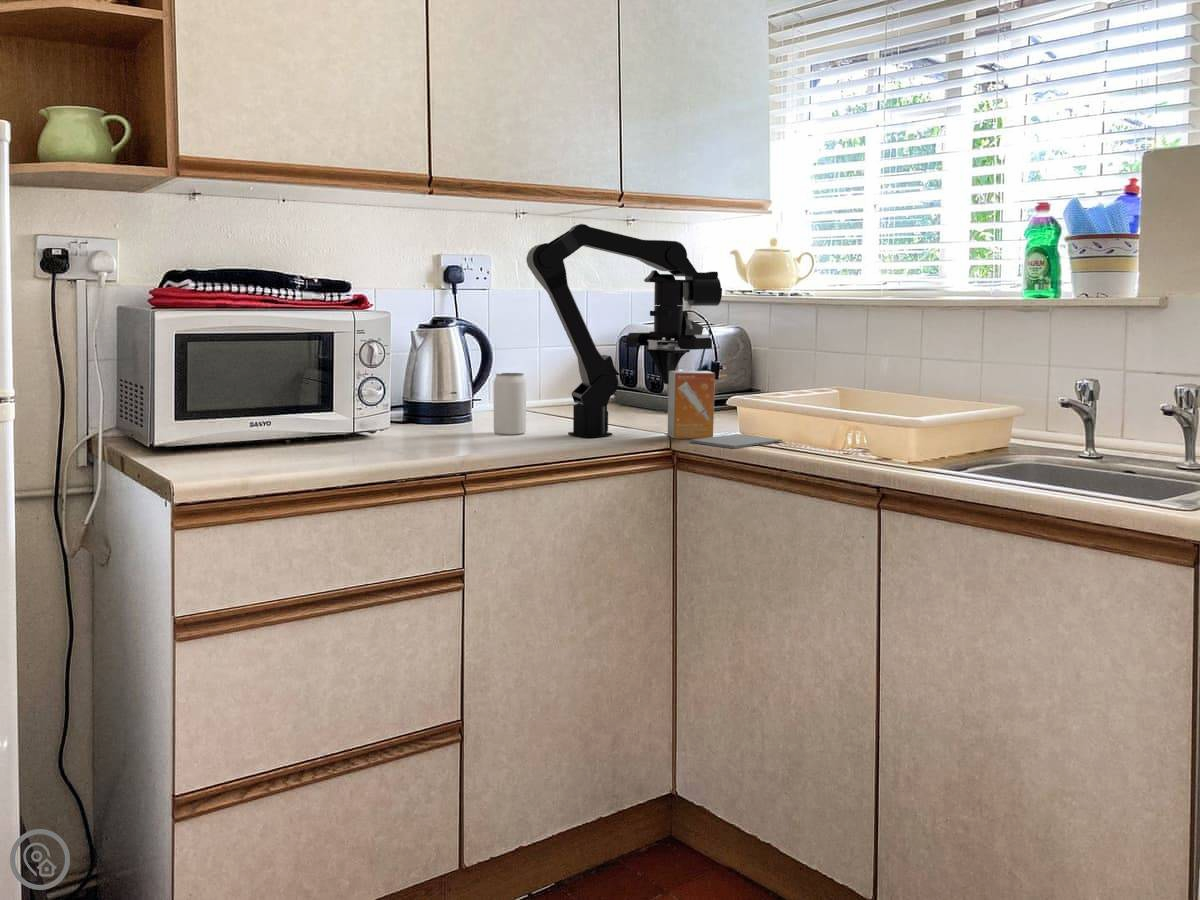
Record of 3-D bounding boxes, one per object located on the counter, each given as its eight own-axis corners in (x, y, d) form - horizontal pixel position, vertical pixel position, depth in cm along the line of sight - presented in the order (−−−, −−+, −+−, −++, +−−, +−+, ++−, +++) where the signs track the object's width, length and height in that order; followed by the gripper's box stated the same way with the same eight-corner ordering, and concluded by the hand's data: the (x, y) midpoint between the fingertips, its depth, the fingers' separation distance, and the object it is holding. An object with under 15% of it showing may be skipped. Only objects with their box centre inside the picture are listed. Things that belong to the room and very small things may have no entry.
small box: (673, 439, 207) (674, 372, 206) (666, 435, 214) (668, 370, 212) (714, 439, 209) (715, 372, 207) (706, 435, 215) (707, 370, 213)
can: (532, 433, 215) (532, 373, 213) (508, 436, 210) (508, 375, 208) (511, 430, 219) (510, 372, 217) (487, 433, 214) (486, 373, 213)
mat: (734, 448, 195) (734, 445, 195) (690, 442, 203) (690, 439, 203) (782, 442, 204) (782, 439, 204) (737, 436, 212) (737, 434, 212)
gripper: (731, 306, 211) (729, 385, 213) (662, 305, 224) (661, 379, 227) (693, 306, 203) (692, 387, 206) (624, 305, 217) (623, 382, 219)
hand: (667, 384), depth 214 cm, fingers closed
